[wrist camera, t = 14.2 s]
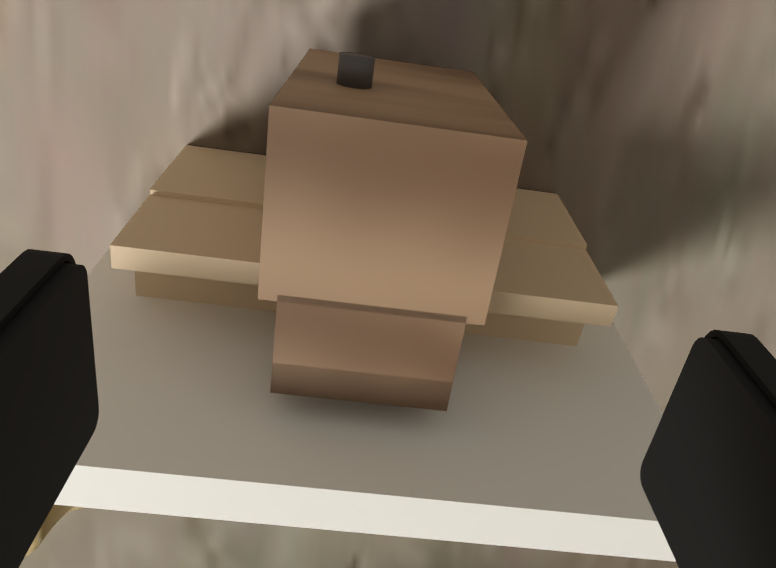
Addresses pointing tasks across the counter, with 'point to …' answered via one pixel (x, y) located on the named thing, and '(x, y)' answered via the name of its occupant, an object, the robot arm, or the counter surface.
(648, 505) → the wall board
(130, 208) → the counter surface
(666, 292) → the counter surface
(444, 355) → the wall box
